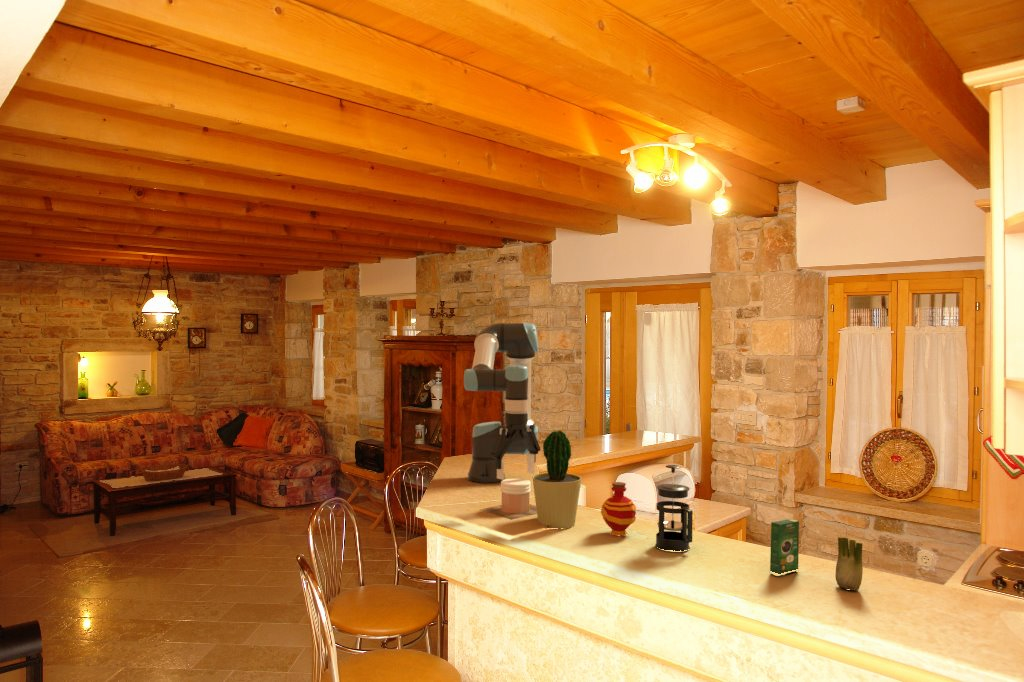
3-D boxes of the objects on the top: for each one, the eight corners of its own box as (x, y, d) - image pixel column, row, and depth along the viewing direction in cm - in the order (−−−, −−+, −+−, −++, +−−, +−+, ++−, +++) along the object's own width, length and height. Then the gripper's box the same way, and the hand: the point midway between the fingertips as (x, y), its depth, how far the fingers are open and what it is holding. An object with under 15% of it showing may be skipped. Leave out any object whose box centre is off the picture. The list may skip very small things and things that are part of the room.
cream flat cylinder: (527, 488, 231) (527, 477, 231) (533, 494, 221) (533, 483, 221) (498, 488, 229) (498, 478, 229) (503, 495, 220) (503, 484, 220)
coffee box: (789, 568, 173) (790, 517, 173) (799, 572, 171) (800, 519, 171) (769, 574, 169) (769, 521, 169) (779, 577, 167) (779, 524, 166)
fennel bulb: (865, 593, 157) (866, 541, 157) (845, 594, 156) (845, 542, 156) (850, 584, 162) (851, 534, 162) (831, 585, 162) (831, 534, 162)
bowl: (516, 505, 232) (516, 487, 232) (534, 510, 225) (535, 492, 225) (496, 509, 226) (496, 491, 226) (514, 514, 219) (514, 496, 219)
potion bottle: (614, 526, 210) (615, 478, 210) (642, 533, 203) (643, 483, 203) (593, 533, 203) (594, 483, 203) (621, 541, 196) (622, 489, 196)
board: (519, 504, 237) (519, 501, 237) (551, 513, 225) (551, 510, 225) (479, 513, 225) (479, 509, 225) (511, 523, 213) (511, 519, 213)
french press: (646, 545, 192) (647, 464, 192) (669, 540, 197) (670, 460, 197) (678, 556, 182) (679, 470, 182) (701, 550, 187) (702, 467, 187)
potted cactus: (565, 515, 223) (566, 424, 223) (590, 527, 209) (591, 430, 209) (523, 521, 216) (524, 426, 216) (546, 533, 202) (547, 433, 202)
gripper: (535, 408, 236) (535, 468, 237) (479, 414, 220) (479, 479, 220) (551, 410, 231) (550, 472, 231) (494, 416, 214) (494, 483, 215)
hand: (515, 475), depth 226 cm, fingers open, 13 cm apart
